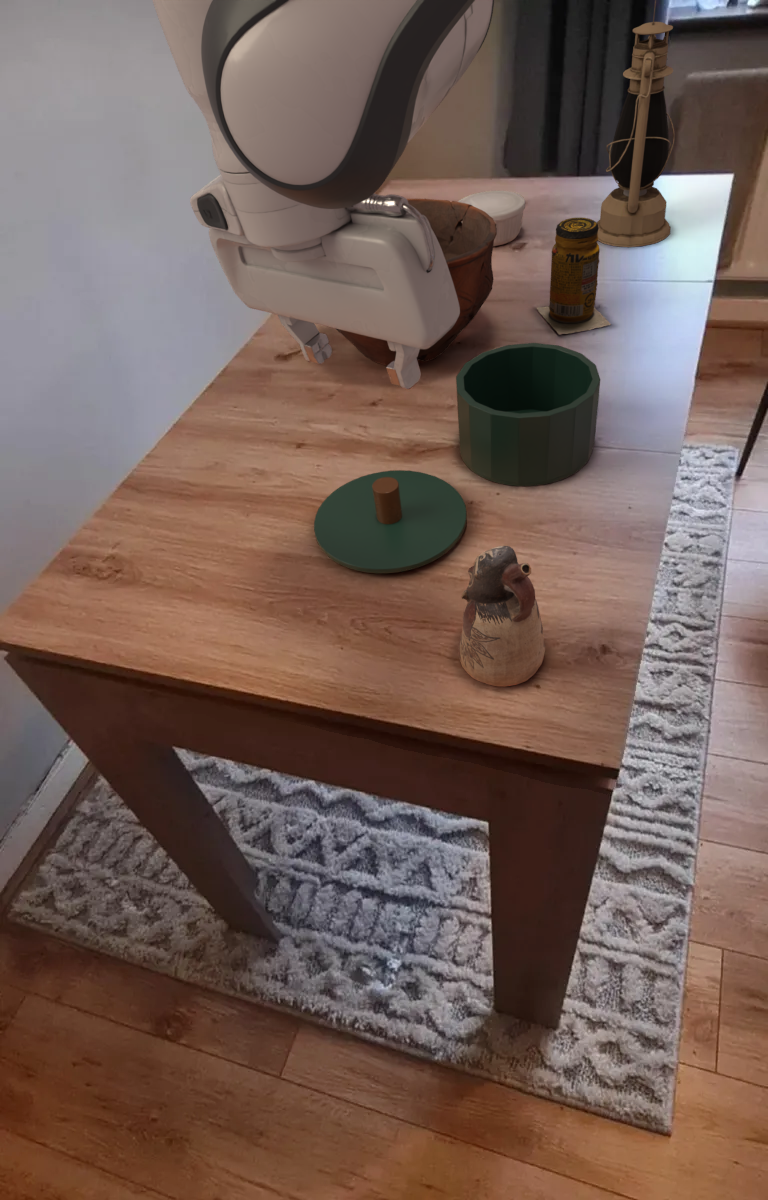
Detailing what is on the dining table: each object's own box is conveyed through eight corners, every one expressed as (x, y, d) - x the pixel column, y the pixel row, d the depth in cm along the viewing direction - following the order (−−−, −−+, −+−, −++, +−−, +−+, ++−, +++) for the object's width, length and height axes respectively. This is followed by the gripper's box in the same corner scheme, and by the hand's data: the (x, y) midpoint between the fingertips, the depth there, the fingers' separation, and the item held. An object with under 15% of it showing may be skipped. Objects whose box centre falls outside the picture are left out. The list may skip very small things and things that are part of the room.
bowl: (513, 302, 113) (513, 189, 103) (480, 395, 97) (476, 273, 86) (347, 299, 120) (332, 193, 109) (291, 386, 104) (266, 271, 93)
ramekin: (441, 240, 131) (439, 207, 128) (487, 218, 136) (487, 185, 132) (492, 256, 125) (491, 221, 121) (538, 231, 130) (539, 197, 126)
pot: (619, 438, 88) (628, 369, 82) (535, 504, 82) (537, 434, 76) (517, 396, 96) (517, 330, 90) (433, 453, 90) (427, 386, 84)
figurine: (504, 613, 71) (504, 509, 63) (562, 658, 67) (570, 553, 59) (443, 653, 69) (434, 550, 60) (498, 703, 65) (497, 600, 56)
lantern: (596, 213, 132) (613, -11, 111) (671, 212, 129) (703, -18, 108) (587, 250, 123) (605, 12, 101) (668, 250, 120) (704, 5, 98)
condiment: (586, 299, 112) (592, 210, 103) (611, 325, 106) (620, 233, 97) (536, 309, 111) (538, 220, 102) (558, 337, 105) (563, 244, 96)
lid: (498, 517, 81) (498, 476, 77) (388, 602, 74) (382, 561, 70) (392, 461, 90) (387, 422, 86) (285, 532, 83) (275, 492, 79)
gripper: (455, 171, 46) (494, 373, 56) (238, 157, 58) (302, 325, 68) (385, 226, 44) (439, 426, 54) (174, 200, 56) (251, 368, 66)
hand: (361, 370), depth 61 cm, fingers open, 8 cm apart
